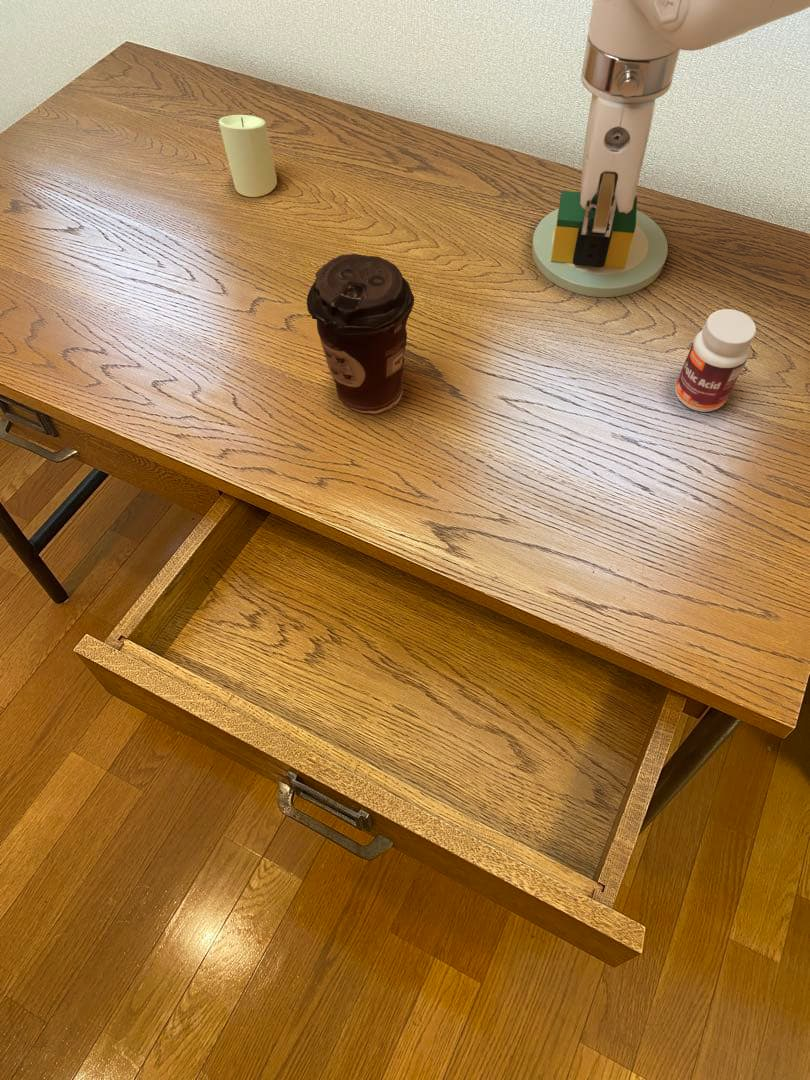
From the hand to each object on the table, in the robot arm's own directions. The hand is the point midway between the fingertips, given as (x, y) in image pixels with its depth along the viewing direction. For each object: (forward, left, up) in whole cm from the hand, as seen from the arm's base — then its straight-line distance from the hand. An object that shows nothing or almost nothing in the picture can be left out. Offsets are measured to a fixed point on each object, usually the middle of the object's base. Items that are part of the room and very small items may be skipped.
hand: (590, 245), depth 77 cm
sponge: (0, 0, -1) cm, 1 cm away
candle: (+39, -8, -2) cm, 40 cm away
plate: (-1, -1, -2) cm, 3 cm away
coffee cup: (+19, +22, -2) cm, 29 cm away
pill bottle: (-12, +17, -2) cm, 21 cm away
